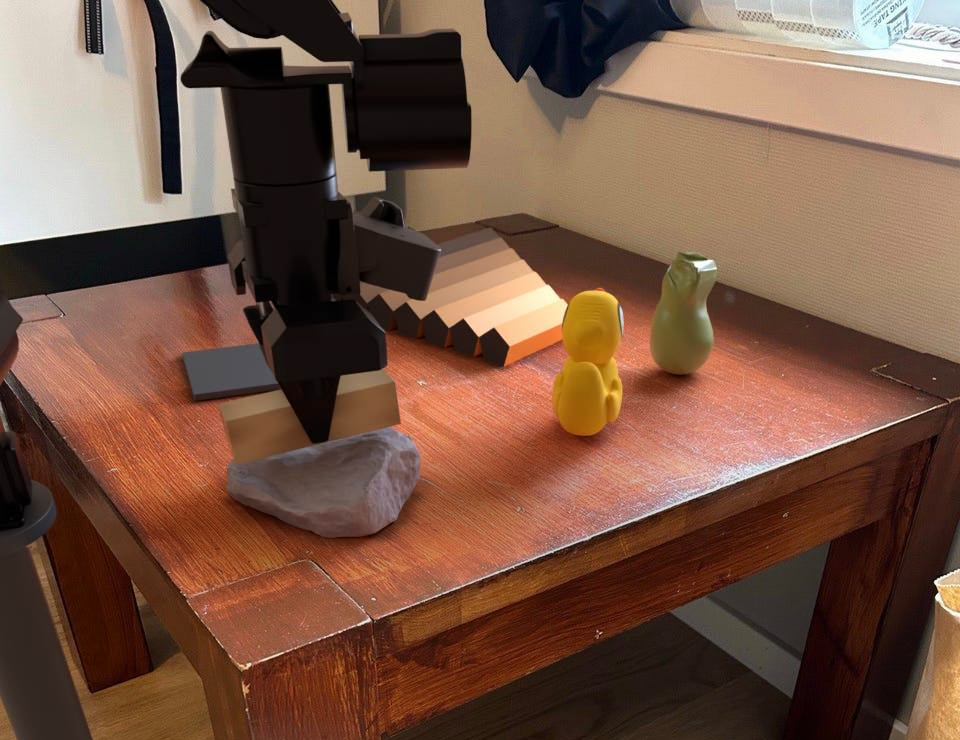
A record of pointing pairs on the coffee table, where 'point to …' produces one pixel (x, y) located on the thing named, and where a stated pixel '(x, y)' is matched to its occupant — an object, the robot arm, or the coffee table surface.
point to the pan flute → (474, 302)
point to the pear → (684, 315)
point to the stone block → (333, 483)
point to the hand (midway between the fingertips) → (314, 431)
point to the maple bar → (276, 428)
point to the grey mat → (228, 372)
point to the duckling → (589, 364)
